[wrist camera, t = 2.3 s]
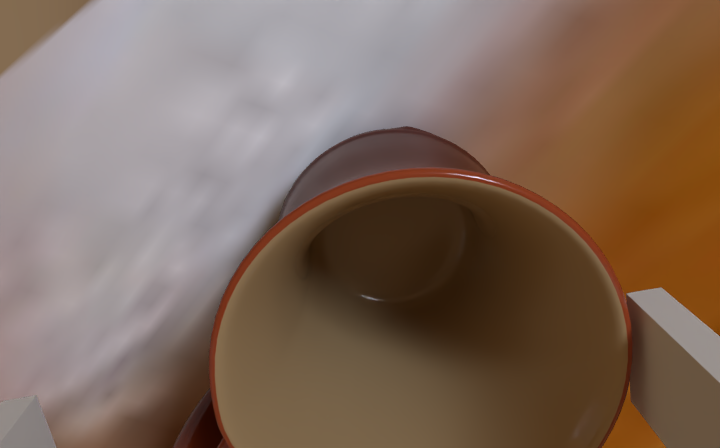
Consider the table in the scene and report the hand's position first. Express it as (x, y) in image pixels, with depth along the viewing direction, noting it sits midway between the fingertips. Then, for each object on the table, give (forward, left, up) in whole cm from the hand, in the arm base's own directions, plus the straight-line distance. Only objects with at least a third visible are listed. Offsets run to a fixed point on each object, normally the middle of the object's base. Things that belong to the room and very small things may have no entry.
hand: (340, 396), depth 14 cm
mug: (0, 0, -10) cm, 10 cm away
